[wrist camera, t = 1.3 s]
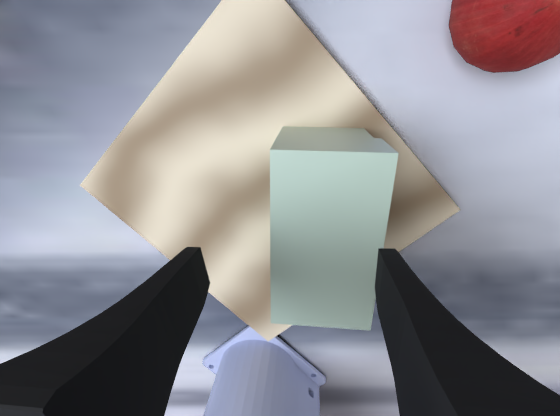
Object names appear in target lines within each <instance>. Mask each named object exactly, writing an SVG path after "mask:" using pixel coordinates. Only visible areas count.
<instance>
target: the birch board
mask: <svg viewBox="0 0 560 416" xmlns="http://www.w3.org/2000/svg"><path fill="white" fill-rule="evenodd" d="M283 126H289V127H334V128H364V129H365V130H366V131H367V132H368V133H369V134H370V135H371V136H372V137H373V138H382V139H383V140H384V141H385V142H386V143H388V144H389V145H390V146H391V147H392V148H393V149H394V150H396V151H397V152H398V153H399V154H398V160H397V167H396V173H395V179H394V185H393V192H392V198H391V204H390V211H389V217H388V223H387V229H386V236H385V242H384V248H391V249H396V250H397V251H398V252H400V251H401V250H403V249H404V248H406V247H407V246H409V245H410V244H412V243H413V242H414V241H416V240H417V239H419V238H420V237H422V236H423V235H425V234H426V233H428V232H429V231H431V230H432V229H433V228H435V227H436V226H438V225H439V224H441V223H442V222H444V221H445V220H447V219H448V218H450V217H451V216H452V215H454V214H455V213H457V212H458V211H460V208H459V207H458V206H457V205H456V204H455V203H454V201H453V200H452V199H451V198H450V197H449V195H448V194H447V193H446V192H445V191H444V189H443V188H442V187H441V186H440V185H439V183H438V182H437V181H436V180H435V179H434V178H433V176H432V175H431V174H430V173H429V172H428V170H427V169H426V168H425V167H424V166H423V164H422V163H421V162H420V161H419V160H418V158H417V157H416V156H415V155H414V154H413V152H412V151H411V150H410V149H409V148H408V147H407V145H406V144H405V143H404V142H403V141H402V139H401V138H400V137H399V136H398V135H397V133H396V132H395V131H394V130H393V129H392V127H391V126H390V125H389V124H388V123H387V122H386V120H385V119H384V118H383V117H382V116H381V114H380V113H379V112H378V111H377V110H376V108H375V107H374V106H373V105H372V104H371V102H370V101H369V100H368V99H367V98H366V97H365V95H364V94H363V93H362V92H361V91H360V89H359V88H358V87H357V86H356V85H355V83H354V82H353V81H352V80H351V79H350V77H349V76H348V75H347V74H346V73H345V71H344V70H343V69H342V68H341V67H340V66H339V64H338V63H337V62H336V61H335V60H334V58H333V57H332V56H331V55H330V54H329V52H328V51H327V50H326V49H325V48H324V46H323V45H322V44H321V43H320V42H319V41H318V39H317V38H316V37H315V36H314V35H313V33H312V32H311V31H310V30H309V29H308V27H307V26H306V25H305V24H304V23H303V21H302V20H301V19H300V18H299V17H298V15H297V14H296V13H295V12H294V11H293V10H292V8H291V7H290V6H289V5H288V4H287V2H286V1H285V0H222V1H221V2H220V4H219V5H218V6H217V7H216V9H215V10H214V11H213V13H212V14H211V15H210V17H209V18H208V19H207V20H206V22H205V23H204V24H203V26H202V27H201V28H200V30H199V31H198V32H197V33H196V35H195V36H194V37H193V39H192V40H191V41H190V43H189V44H188V45H187V46H186V48H185V49H184V50H183V52H182V53H181V54H180V56H179V57H178V58H177V59H176V61H175V62H174V63H173V65H172V66H171V67H170V69H169V70H168V71H167V73H166V74H165V75H164V76H163V78H162V79H161V80H160V82H159V83H158V84H157V86H156V87H155V88H154V89H153V91H152V92H151V93H150V95H149V96H148V97H147V99H146V100H145V101H144V102H143V104H142V105H141V106H140V108H139V109H138V110H137V112H136V113H135V114H134V115H133V117H132V118H131V119H130V121H129V122H128V123H127V125H126V126H125V127H124V128H123V130H122V131H121V132H120V134H119V135H118V136H117V138H116V139H115V140H114V141H113V143H112V144H111V145H110V147H109V148H108V149H107V151H106V152H105V153H104V155H103V156H102V157H101V158H100V160H99V161H98V162H97V164H96V165H95V166H94V168H93V169H92V170H91V171H90V173H89V174H88V175H87V177H86V178H85V179H84V181H83V182H82V183H81V184H80V186H81V187H83V188H84V189H85V190H86V191H87V192H89V193H90V194H91V195H92V196H93V197H95V198H96V199H97V200H98V201H99V202H101V203H102V204H103V205H104V206H106V207H107V208H108V209H109V210H110V211H112V212H113V213H114V214H115V215H116V216H118V217H119V218H120V219H121V220H122V221H124V222H125V223H126V224H127V225H128V226H130V227H131V228H132V229H133V230H134V231H136V232H137V233H138V234H139V235H140V236H142V237H143V238H144V239H145V240H146V241H148V242H149V243H150V244H151V245H152V246H154V247H155V248H156V249H157V250H158V251H160V252H161V253H162V254H163V255H165V256H166V257H167V258H168V259H169V260H171V259H173V258H174V257H175V256H176V255H177V254H178V253H180V252H181V251H182V250H183V249H185V248H186V247H201V251H202V255H203V258H204V262H205V266H206V269H207V273H208V276H209V280H210V286H209V290H208V292H209V293H210V294H211V295H213V296H214V297H215V298H216V299H217V300H219V301H220V302H221V303H222V304H224V305H225V306H226V307H227V308H228V309H230V310H231V311H232V312H233V313H234V314H236V315H237V316H238V317H239V318H240V319H242V320H243V321H244V322H245V323H246V324H248V325H249V326H250V327H251V328H252V329H254V330H255V331H256V332H257V333H258V334H260V335H261V336H262V337H263V338H264V339H266V340H267V341H270V340H271V339H273V338H274V337H276V336H277V335H279V334H280V333H281V332H283V331H284V330H286V329H287V328H289V327H290V326H292V325H288V324H274V323H271V289H270V148H271V147H272V145H273V143H274V141H275V139H276V138H277V136H278V134H279V132H280V131H281V129H282V127H283Z"/></svg>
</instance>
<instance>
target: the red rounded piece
mask: <svg viewBox="0 0 560 416" xmlns="http://www.w3.org/2000/svg"><path fill="white" fill-rule="evenodd" d="M449 29H450V33H451V37H452V41H453V45H454V48H455V49H456V50H457V51H458V52H459V54H460V55H461V56H462V57H463V59H464V60H465V61H466V62H467V63H469V64H471V65H474V66H476V67H478V68H480V69H482V70H484V71H488V72H493V73H494V72H513V71H520V70H523V69H526V68H529V67H531V66H534V65H536V64H539V63H541V62H543V61H546V60H548V59H551V58H553V57H554V56H556V55H558V54H559V53H560V0H452V5H451V13H450V20H449Z"/></svg>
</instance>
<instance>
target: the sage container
mask: <svg viewBox="0 0 560 416" xmlns="http://www.w3.org/2000/svg"><path fill="white" fill-rule="evenodd" d="M398 154H399V153H398V152H397V151H396V150H394V149H393V148H392V147H391V146H390V145H389V144H388V143H386V142H385V141H384V140H383V139H382V138H373V137H372V136H371V135H370V134H369V133H368V132H367V131H366V130H365V129H364V128H334V127H289V126H283V127H282V129H281V131H280V132H279V134H278V136H277V138H276V139H275V141H274V143H273V145H272V147H271V148H270V289H271V323H274V324H288V325H301V326H315V327H328V328H342V329H356V330H369V331H370V330H371V324H372V317H373V311H374V305H375V299H376V294H375V278H376V268H377V258H378V248H384V242H385V236H386V229H387V223H388V217H389V211H390V204H391V198H392V192H393V185H394V179H395V173H396V167H397V160H398Z"/></svg>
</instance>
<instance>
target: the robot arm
mask: <svg viewBox="0 0 560 416" xmlns="http://www.w3.org/2000/svg"><path fill="white" fill-rule="evenodd" d="M209 286H210V280H209V276H208V273H207V269H206V266H205V262H204V258H203V255H202V251H201V247H186V248H185V249H183V250H182V251H181V252H180V253H178V254H177V255H176V256H175V257H174V258H173V259H171V260H170V261H169V262H168V263H167V264H166V265H164V266H163V267H162V268H161V269H160V270H158V271H157V272H156V273H155V274H154V275H152V276H151V277H150V278H149V279H148V280H146V281H145V282H144V283H142V284H141V285H140V286H139V287H137V288H136V289H135V290H133V291H132V292H131V293H129V294H128V295H127V296H125V297H124V298H123V299H121V300H120V301H118V302H117V303H116V304H114V305H113V306H111V307H110V308H108V309H106V310H105V311H103V312H102V313H100V314H99V315H97V316H95V317H94V318H92V319H90V320H89V321H87V322H85V323H83V324H82V325H80V326H78V327H76V328H75V329H73V330H71V331H69V332H68V333H66V334H64V335H62V336H60V337H58V338H56V339H54V340H52V341H50V342H48V343H46V344H44V345H42V346H40V347H38V348H36V349H33V350H31V351H29V352H27V353H24V354H22V355H20V356H18V357H15V358H13V359H11V360H8V361H6V362H4V363H1V364H0V416H164V414H165V410H166V407H167V403H168V400H169V396H170V393H171V390H172V386H173V383H174V380H175V377H176V374H177V370H178V367H179V364H180V362H181V359H182V356H183V354H184V351H185V349H186V347H187V344H188V342H189V340H190V337H191V335H192V333H193V330H194V328H195V326H196V323H197V321H198V319H199V316H200V314H201V312H202V309H203V307H204V304H205V300H206V297H207V293H208V290H209ZM375 294H376V302H377V309H378V314H379V319H380V323H381V327H382V331H383V335H384V338H385V342H386V346H387V350H388V354H389V358H390V362H391V366H392V371H393V376H394V381H395V387H396V394H397V400H398V407H399V413H400V416H560V395H558V394H557V393H555V392H554V391H552V390H550V389H549V388H547V387H546V386H544V385H542V384H541V383H539V382H538V381H536V380H535V379H533V378H532V377H530V376H529V375H527V374H526V373H525V372H523V371H522V370H520V369H519V368H517V367H516V366H514V365H513V364H512V363H510V362H509V361H508V360H506V359H505V358H503V357H502V356H501V355H500V354H498V353H497V352H496V351H494V350H493V349H492V348H491V347H489V346H488V345H487V344H485V343H484V342H483V341H481V340H480V339H479V338H478V337H477V336H475V335H474V334H473V333H472V332H471V331H469V330H468V329H467V328H466V327H465V326H464V325H463V324H462V323H461V322H460V321H458V320H457V319H456V318H455V317H454V316H453V315H452V314H451V313H450V312H449V311H448V310H447V309H446V308H445V307H444V306H443V305H442V304H441V303H440V302H439V301H438V300H437V299H436V298H435V296H434V295H433V294H432V293H431V292H430V291H429V290H428V289H427V287H426V286H425V285H424V284H423V283H422V282H421V281H420V279H419V278H418V277H417V276H416V275H415V273H414V272H413V271H412V270H411V268H410V267H409V266H408V264H407V263H406V262H405V260H404V259H403V258H402V256H401V255H400V254H399V252H398V251H397V250H396V249H391V248H378V258H377V268H376V278H375ZM203 365H204V366H205V367H207V368H208V369H209V370H211V371H212V372H213V373H214V374H216V378H215V381H214V384H213V387H212V390H211V393H210V397H209V400H208V403H207V406H206V409H205V412H204V416H320V397H319V386H321V385H323V384H324V383H325V382H326V377H325V376H324V375H323V374H322V373H320V372H319V371H318V370H317V369H316V368H315V367H313V366H312V365H311V364H310V363H309V362H307V361H306V360H305V359H304V358H303V357H301V356H300V355H299V354H298V353H297V352H296V351H294V350H293V349H292V348H291V347H290V346H288V345H287V344H286V343H285V342H284V341H283V340H281V339H280V338H279V337H278V336H276V337H274V338H273V339H271V340H270V341H267V340H266V339H264V338H263V337H262V336H261V335H260V334H258V333H257V332H256V331H255V330H254V329H252V328H251V327H250V326H247V327H246V328H245V329H243V330H242V331H241V332H239V333H238V334H236V335H235V336H234V337H232V338H231V339H230V340H228V341H227V342H225V343H224V344H223V345H221V346H220V347H219V348H217V349H216V350H215V351H213V352H212V353H210V354H209V355H208V356H206V357H205V358H204V359H203Z"/></svg>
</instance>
